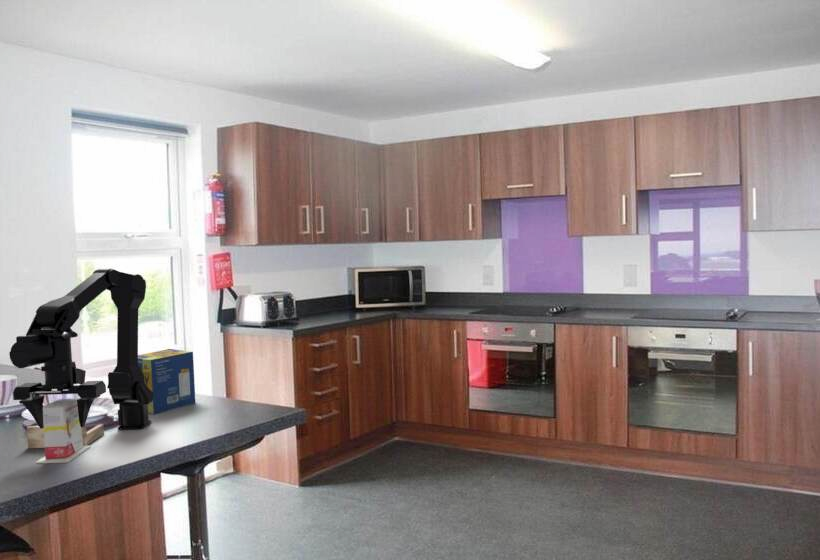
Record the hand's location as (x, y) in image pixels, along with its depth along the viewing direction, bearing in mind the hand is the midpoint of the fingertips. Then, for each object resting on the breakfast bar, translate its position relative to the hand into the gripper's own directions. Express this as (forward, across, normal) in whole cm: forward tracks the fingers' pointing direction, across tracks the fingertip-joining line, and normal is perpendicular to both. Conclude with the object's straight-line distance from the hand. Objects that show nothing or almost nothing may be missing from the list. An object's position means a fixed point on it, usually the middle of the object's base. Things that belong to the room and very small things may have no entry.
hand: (62, 427), depth 160 cm
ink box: (+6, 0, 0) cm, 6 cm away
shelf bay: (+6, +5, -11) cm, 14 cm away
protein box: (+7, -7, -44) cm, 45 cm away
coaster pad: (+6, 0, 0) cm, 6 cm away
